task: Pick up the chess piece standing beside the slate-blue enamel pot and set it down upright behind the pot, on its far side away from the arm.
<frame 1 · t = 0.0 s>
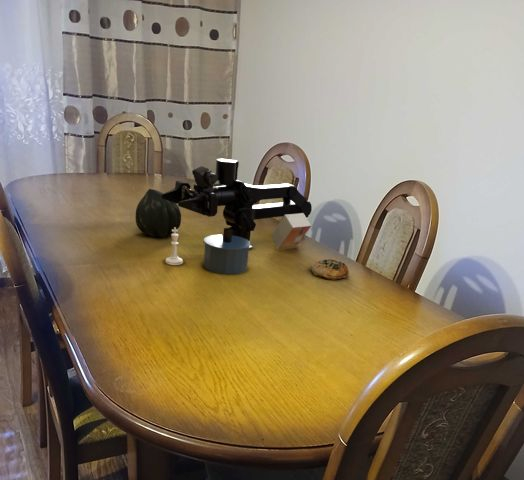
hand: (169, 200, 157), 16 cm above the table, tool horizontal, fingers open, 9 cm apart
chess piece: (174, 262, 161), on the table
bread roll: (328, 274, 165), on the table
small box: (282, 242, 184), point 1 cm above the table
squash: (158, 234, 184), on the table
pot lid: (227, 243, 158), point 7 cm above the table, touching pot
pot: (225, 266, 161), on the table
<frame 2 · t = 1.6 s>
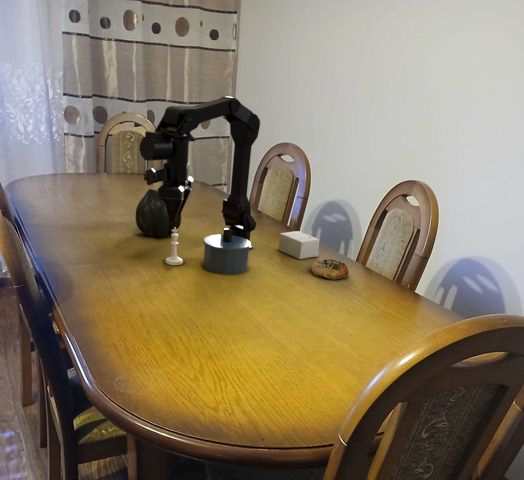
hand: (175, 218, 155), 13 cm above the table, tool pointing down, fingers open, 9 cm apart
small box: (287, 240, 182), point 3 cm above the table
everything else where it was.
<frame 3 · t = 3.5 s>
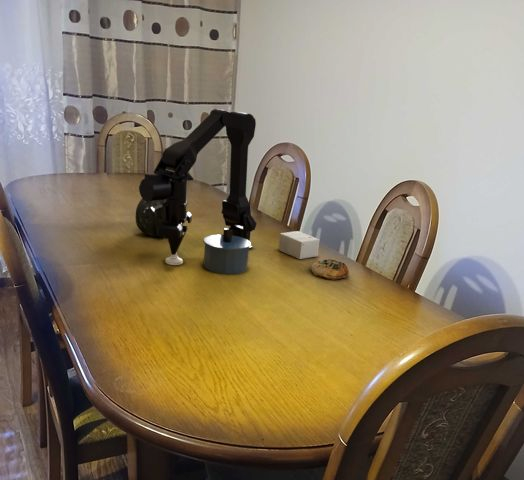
hand: (174, 253, 159), 3 cm above the table, tool pointing down, fingers closed on chess piece
chess piece: (174, 262, 161), on the table, touching gripper
everything else where it was.
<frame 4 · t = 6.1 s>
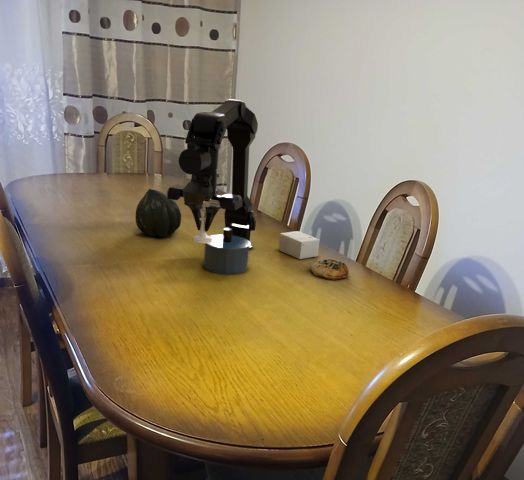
hand: (202, 230, 147), 13 cm above the table, tool pointing down, fingers closed on chess piece
chess piece: (202, 241, 148), point 10 cm above the table, touching gripper
everything else where it was.
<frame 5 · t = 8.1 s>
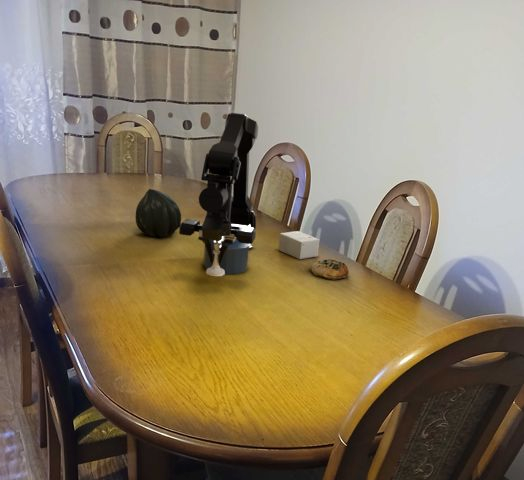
hand: (215, 263, 147), 5 cm above the table, tool pointing down, fingers closed on chess piece
chess piece: (215, 273, 148), point 3 cm above the table, touching gripper
everything else where it was.
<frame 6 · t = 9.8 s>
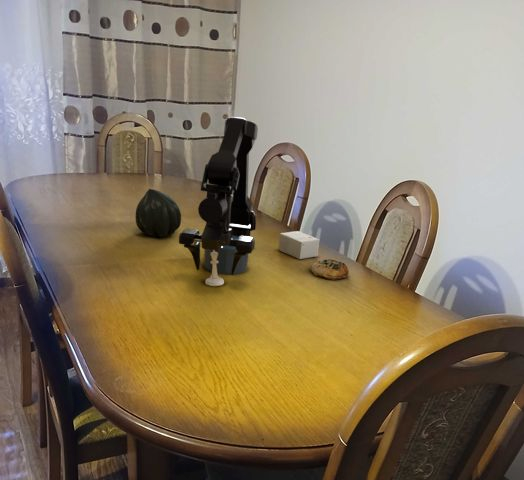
hand: (215, 272, 148), 3 cm above the table, tool pointing down, fingers open, 9 cm apart
chess piece: (214, 283, 149), on the table
everything else where it was.
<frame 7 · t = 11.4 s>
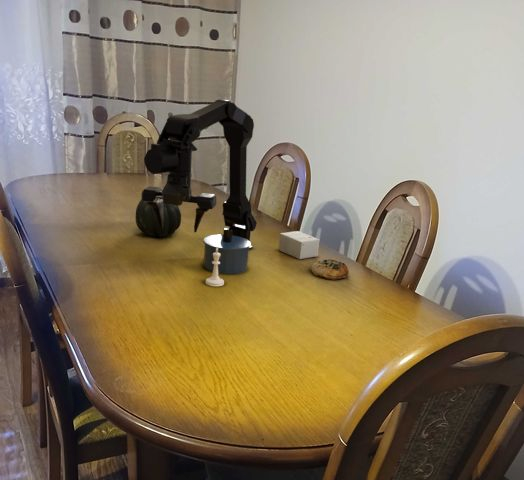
hand: (178, 230, 151), 11 cm above the table, tool pointing down, fingers open, 9 cm apart
nothing on the table moved.
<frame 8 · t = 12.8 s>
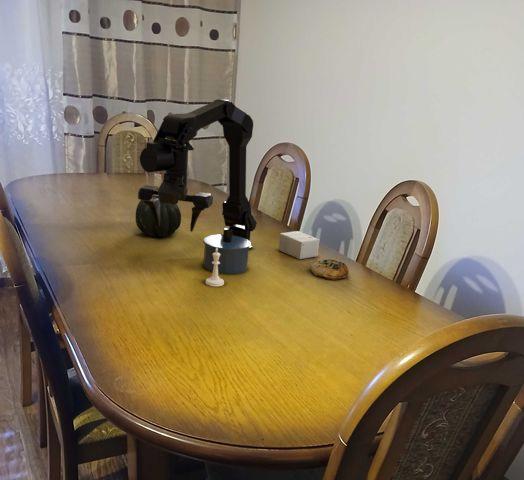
hand: (174, 228, 151), 11 cm above the table, tool pointing down, fingers open, 9 cm apart
nothing on the table moved.
at the end: chess piece inside the target area on the table beside the pot (0.4 cm from its centre), on the table; chess piece tilted 0°; the gripper is holding nothing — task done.
